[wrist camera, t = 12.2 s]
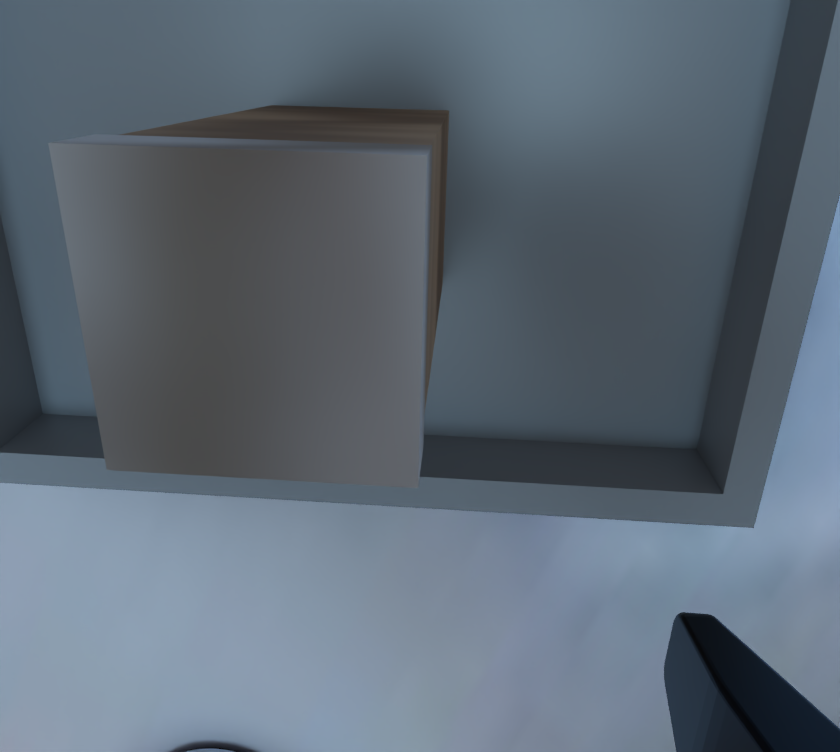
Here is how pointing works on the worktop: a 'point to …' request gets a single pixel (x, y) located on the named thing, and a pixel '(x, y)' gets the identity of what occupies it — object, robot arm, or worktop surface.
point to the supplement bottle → (209, 750)
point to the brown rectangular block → (261, 290)
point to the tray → (483, 228)
